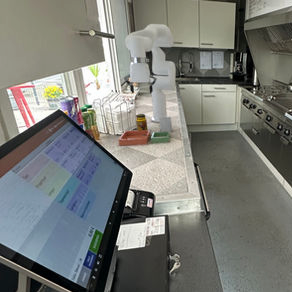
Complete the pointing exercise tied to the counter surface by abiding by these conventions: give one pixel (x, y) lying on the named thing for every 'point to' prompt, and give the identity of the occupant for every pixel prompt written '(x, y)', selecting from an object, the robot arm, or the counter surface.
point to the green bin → (160, 137)
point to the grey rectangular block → (165, 124)
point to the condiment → (141, 122)
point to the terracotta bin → (134, 137)
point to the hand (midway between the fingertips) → (142, 92)
